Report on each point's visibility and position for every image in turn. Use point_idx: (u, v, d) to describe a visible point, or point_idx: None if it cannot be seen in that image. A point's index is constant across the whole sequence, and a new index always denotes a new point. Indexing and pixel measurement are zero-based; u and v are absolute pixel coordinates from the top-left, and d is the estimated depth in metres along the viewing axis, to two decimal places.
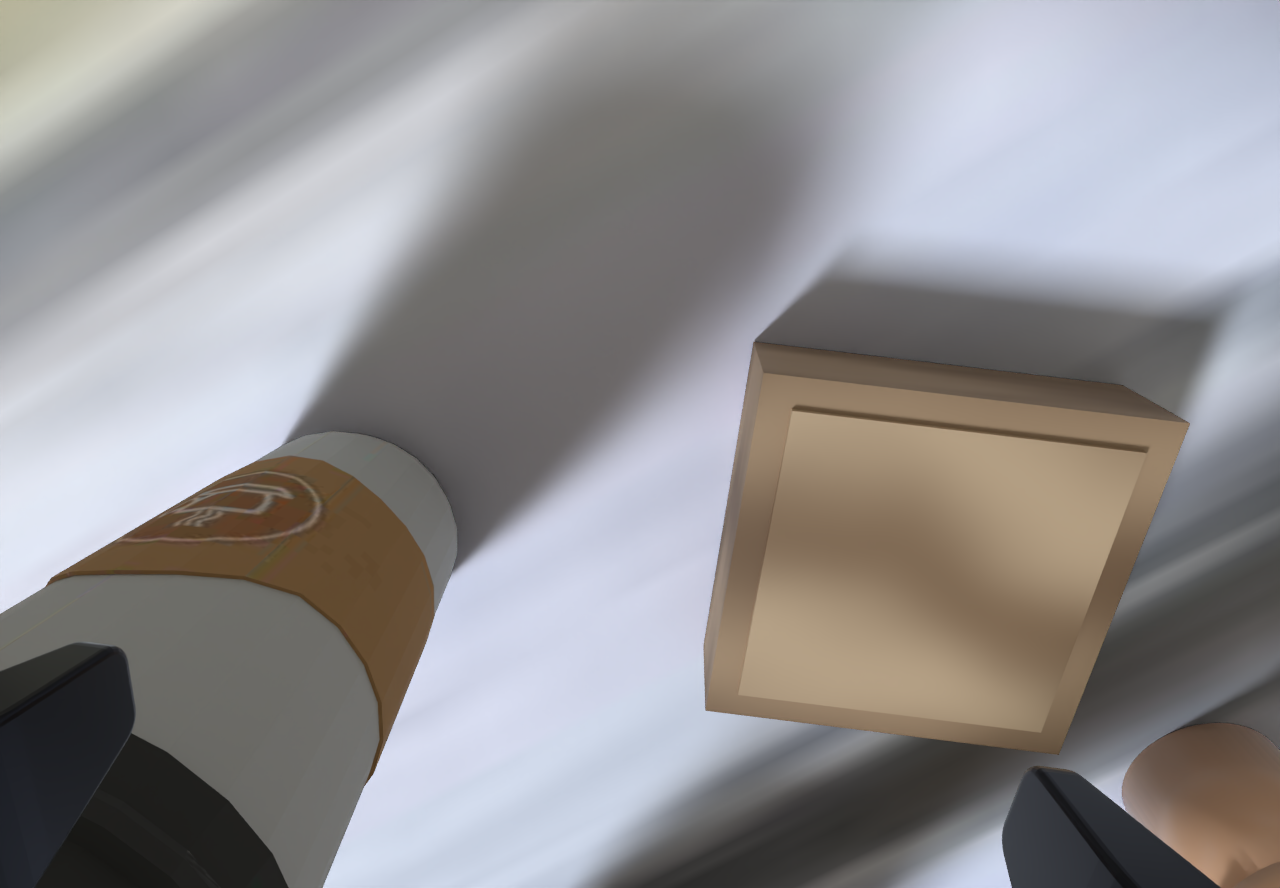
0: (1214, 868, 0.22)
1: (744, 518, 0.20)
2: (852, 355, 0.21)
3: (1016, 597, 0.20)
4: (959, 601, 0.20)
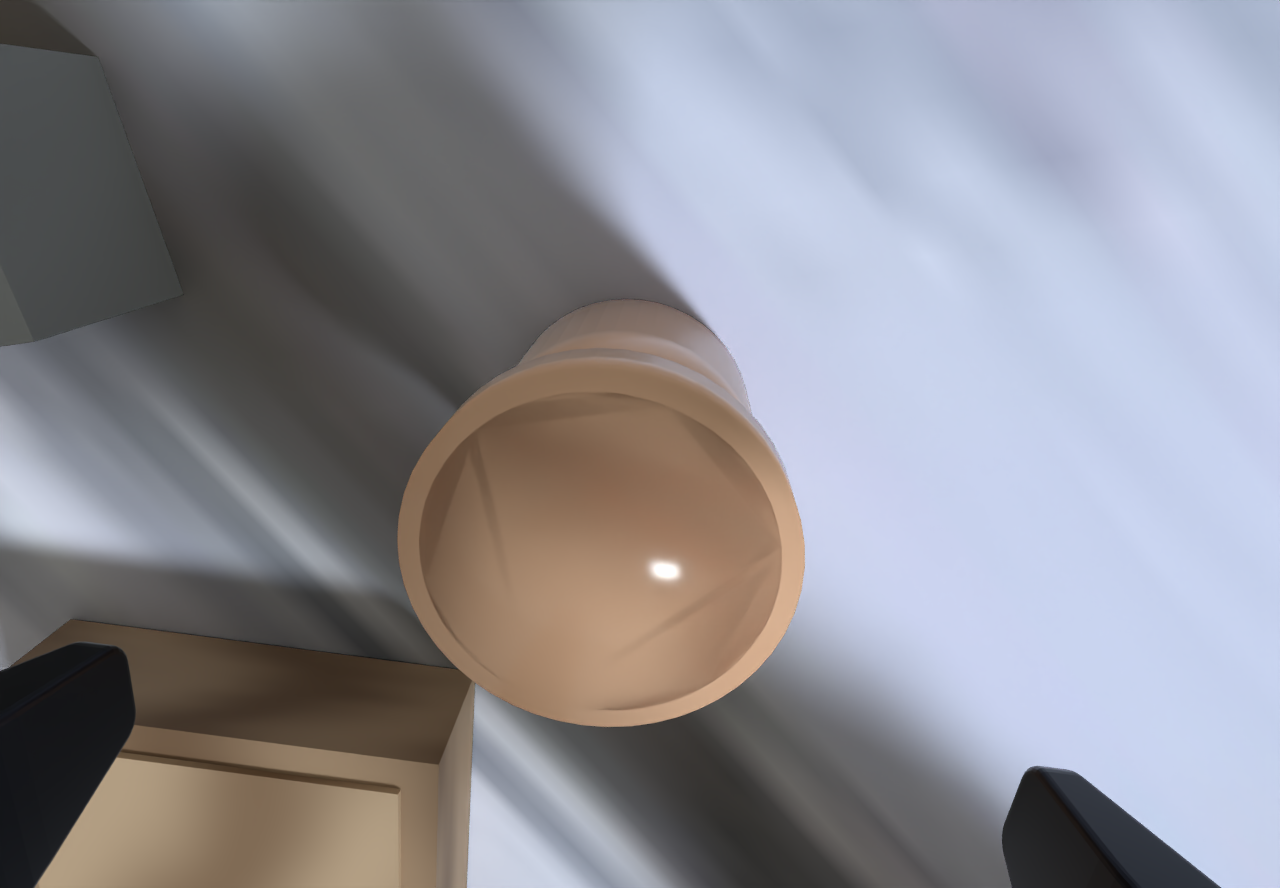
0: None
1: None
2: None
3: (211, 834, 0.17)
4: (231, 880, 0.17)
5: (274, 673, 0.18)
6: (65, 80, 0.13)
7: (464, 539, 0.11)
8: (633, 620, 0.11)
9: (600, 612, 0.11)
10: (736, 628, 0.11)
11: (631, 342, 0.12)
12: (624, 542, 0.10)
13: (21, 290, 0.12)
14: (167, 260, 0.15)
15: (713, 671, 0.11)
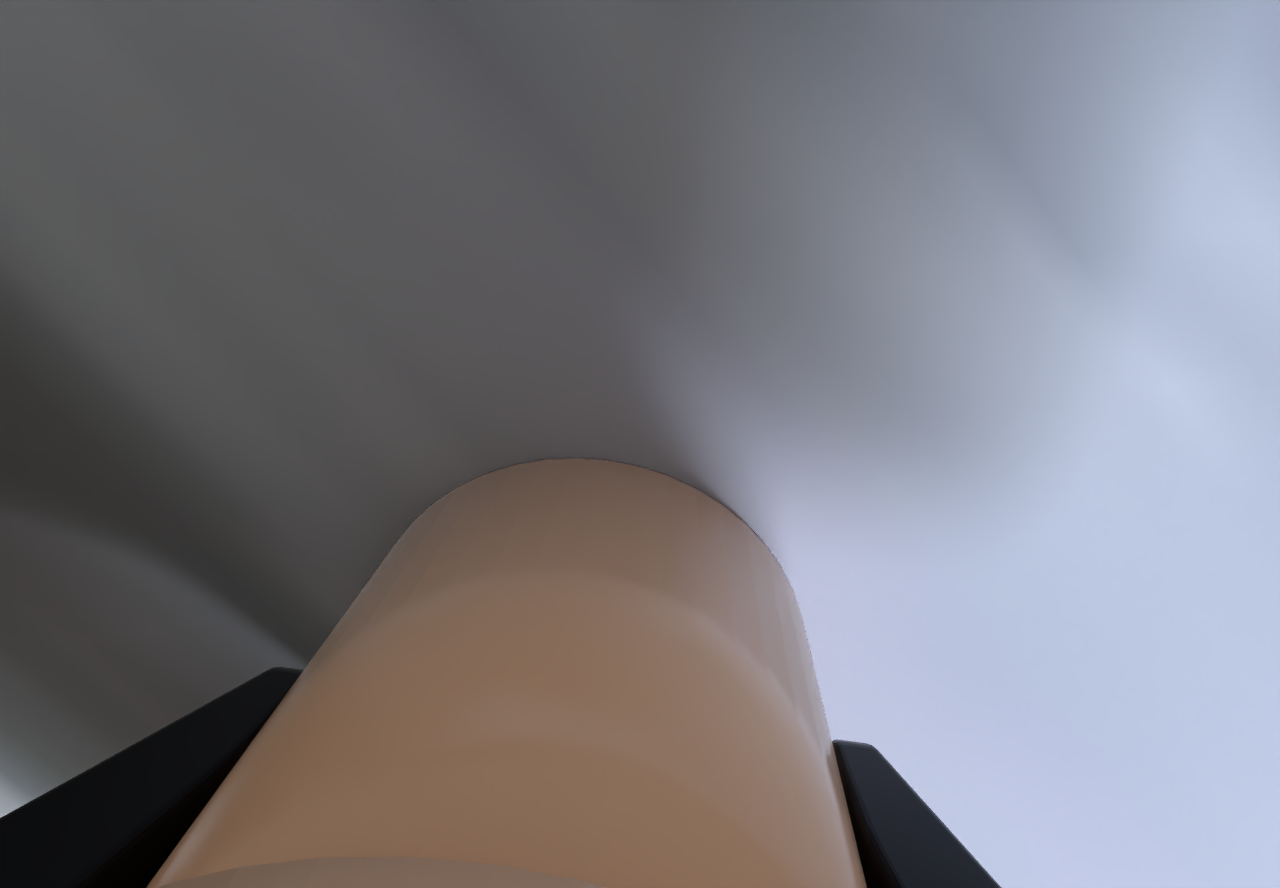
0: None
1: None
2: None
3: None
4: None
5: None
6: None
7: None
8: None
9: None
10: None
11: (553, 675, 0.05)
12: None
13: None
14: None
15: None
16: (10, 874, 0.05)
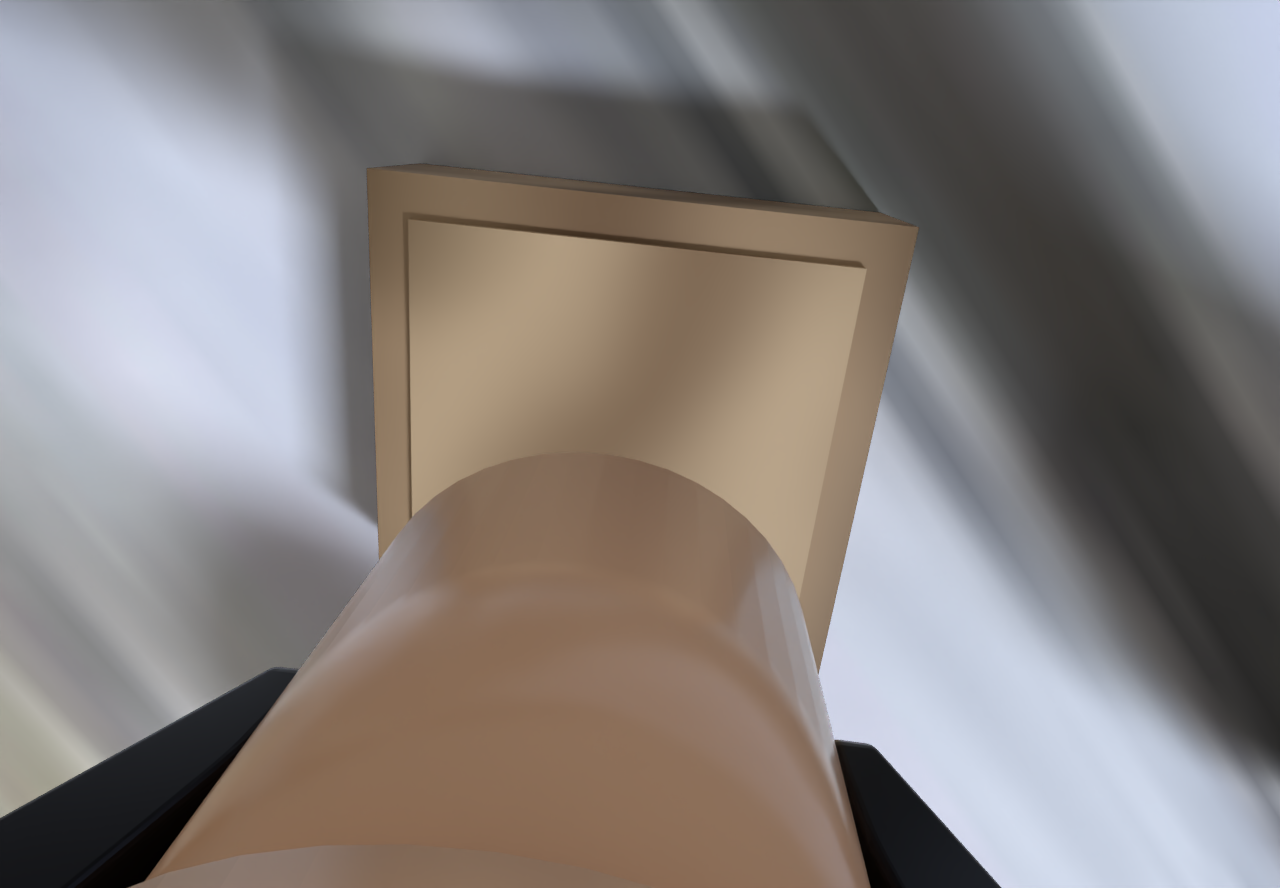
0: None
1: None
2: None
3: (630, 343, 0.15)
4: (640, 413, 0.15)
5: (672, 193, 0.16)
6: None
7: None
8: None
9: None
10: None
11: (554, 666, 0.05)
12: None
13: None
14: None
15: None
16: (10, 874, 0.05)
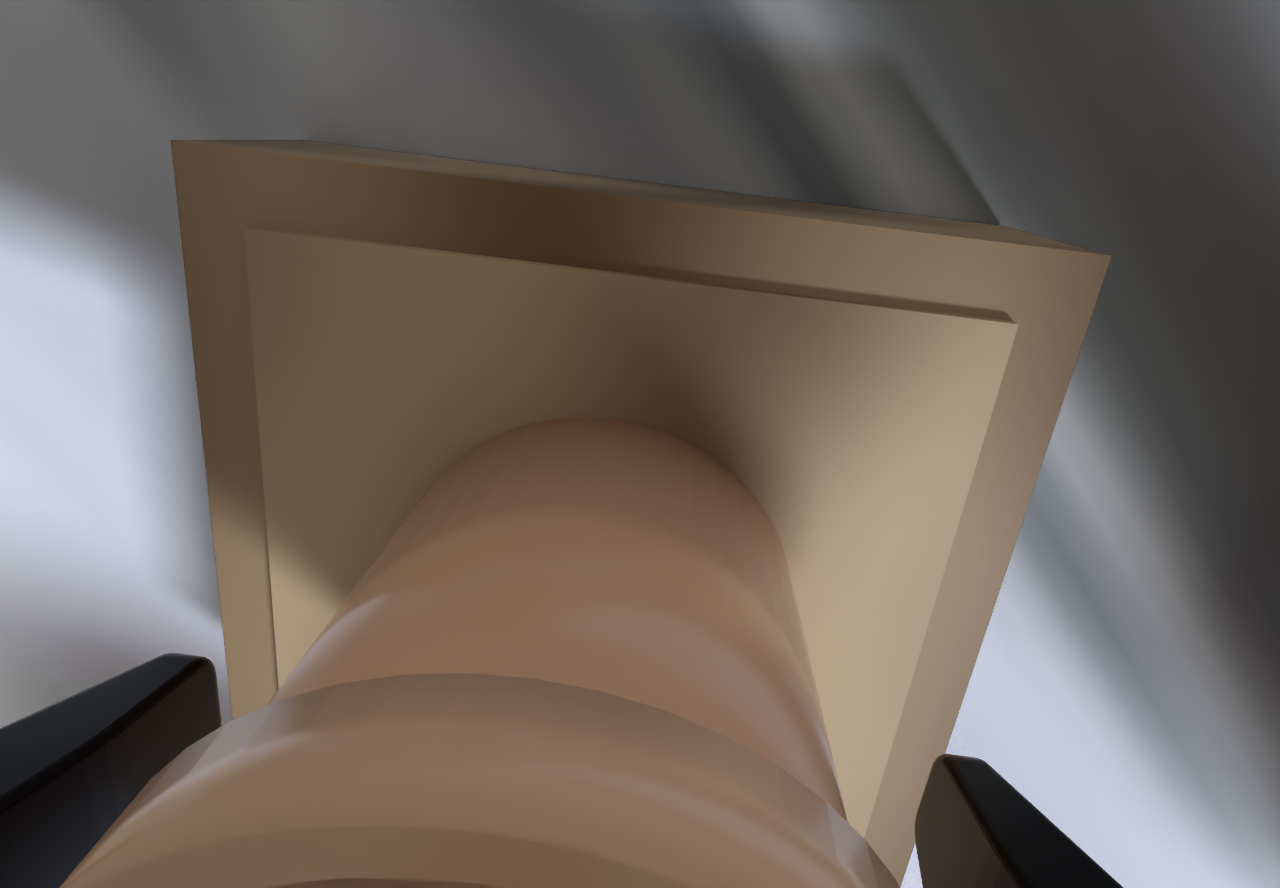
0: None
1: None
2: None
3: None
4: None
5: (687, 191, 0.10)
6: None
7: None
8: None
9: None
10: None
11: (571, 573, 0.06)
12: None
13: None
14: None
15: None
16: None
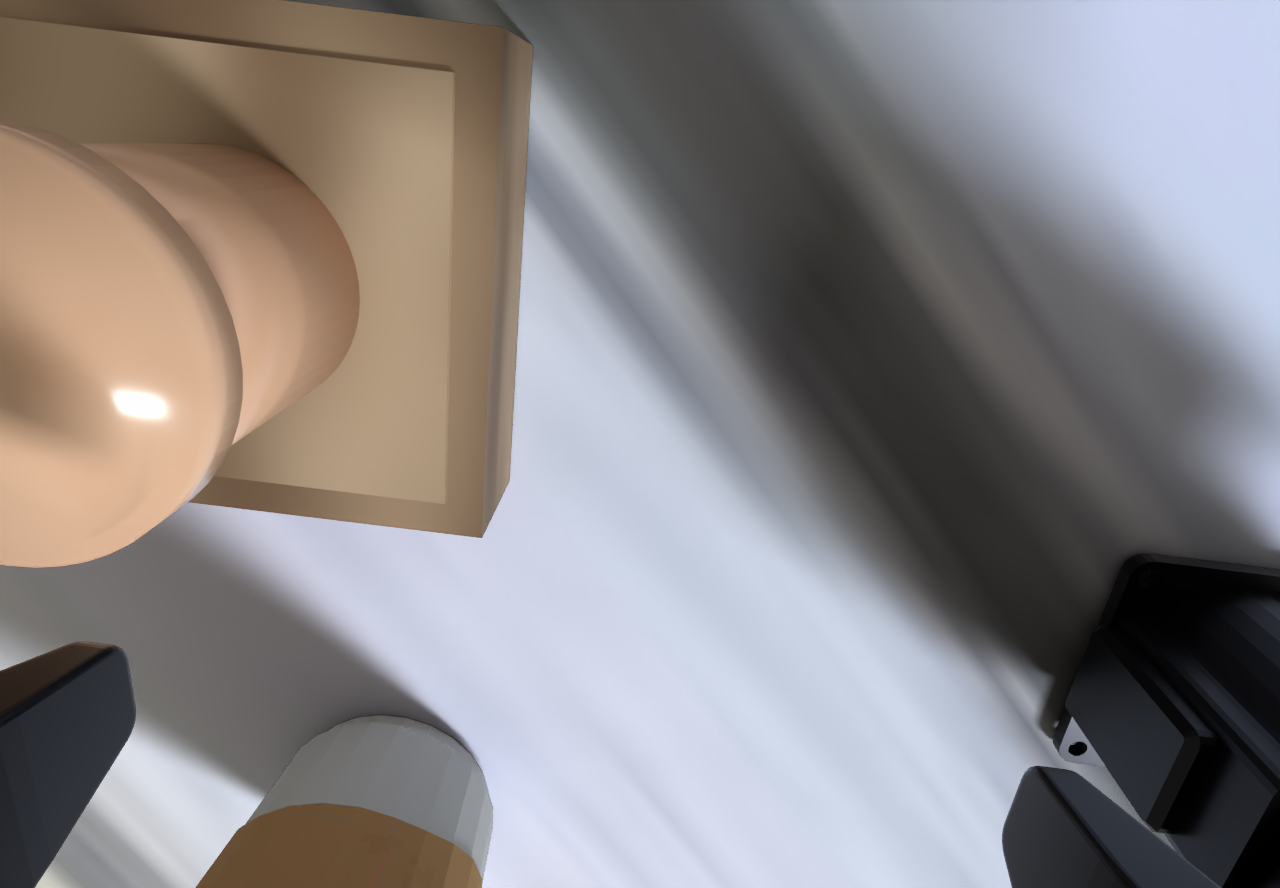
0: None
1: (203, 497, 0.17)
2: None
3: None
4: None
5: None
6: None
7: None
8: (27, 433, 0.10)
9: None
10: (143, 442, 0.10)
11: (90, 144, 0.11)
12: None
13: None
14: None
15: (132, 496, 0.10)
16: None
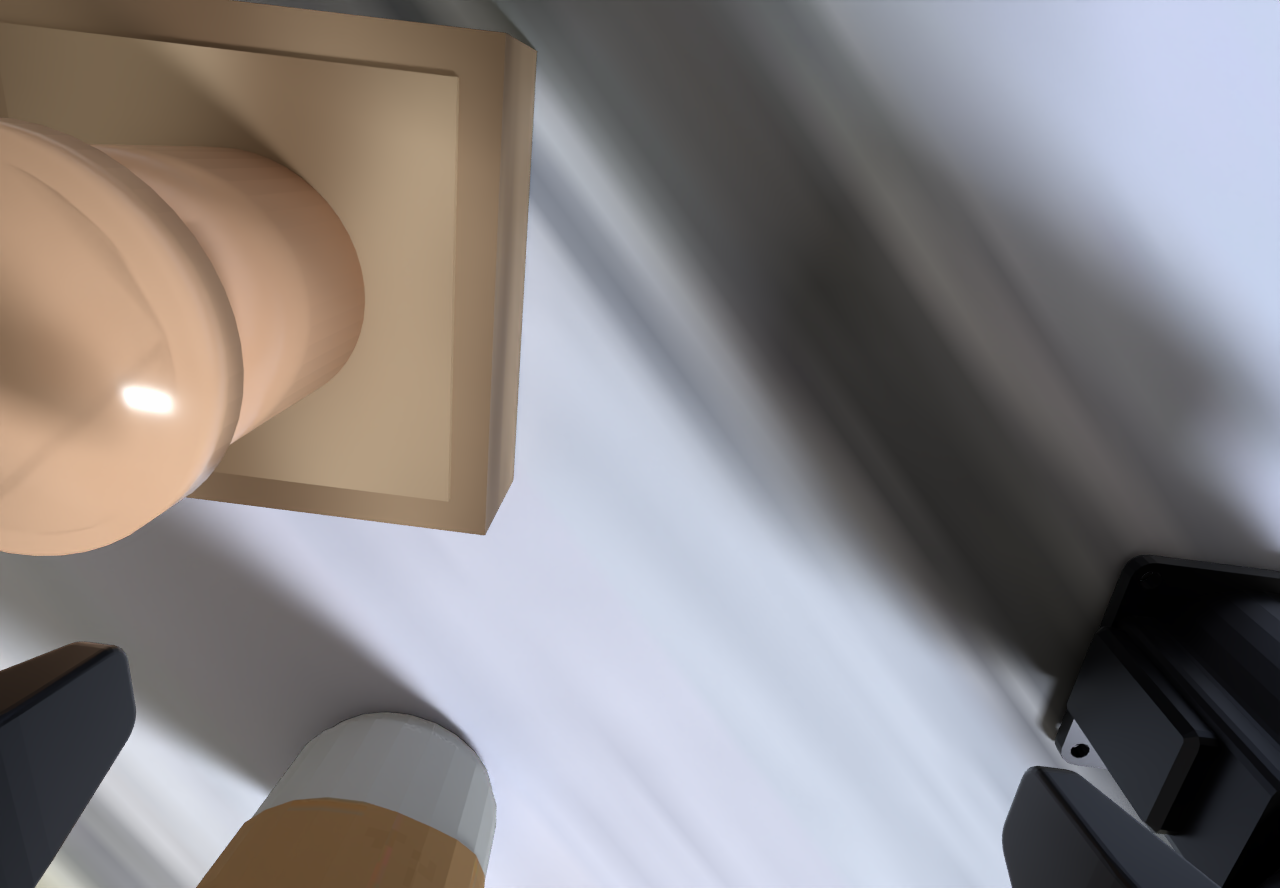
0: None
1: (212, 494, 0.17)
2: None
3: None
4: None
5: None
6: None
7: None
8: (33, 424, 0.10)
9: None
10: (144, 436, 0.10)
11: (105, 145, 0.11)
12: None
13: None
14: None
15: (133, 489, 0.10)
16: None
